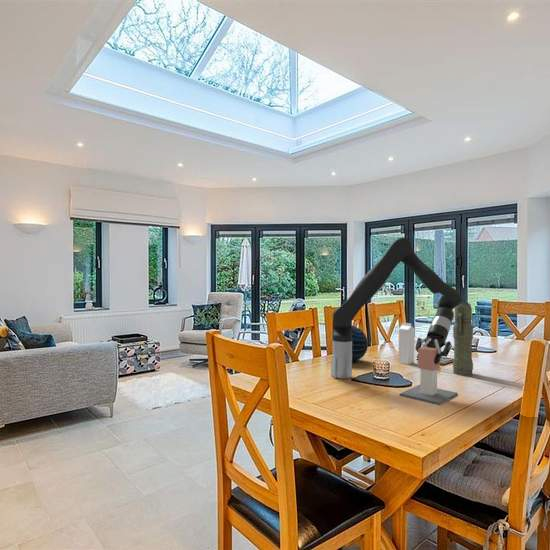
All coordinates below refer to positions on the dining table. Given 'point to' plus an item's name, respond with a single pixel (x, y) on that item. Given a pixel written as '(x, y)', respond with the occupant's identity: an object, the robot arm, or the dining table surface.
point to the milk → (406, 343)
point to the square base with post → (428, 389)
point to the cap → (427, 358)
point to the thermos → (463, 340)
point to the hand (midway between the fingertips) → (427, 361)
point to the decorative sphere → (357, 343)
